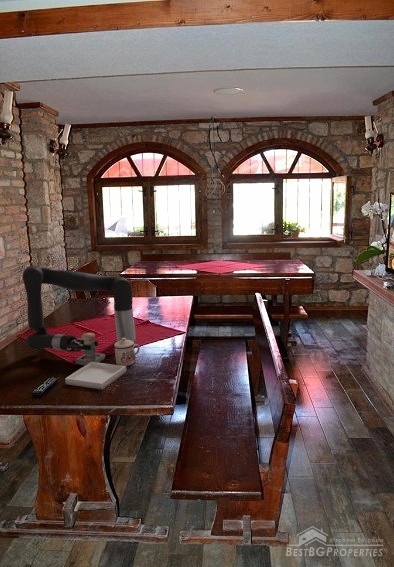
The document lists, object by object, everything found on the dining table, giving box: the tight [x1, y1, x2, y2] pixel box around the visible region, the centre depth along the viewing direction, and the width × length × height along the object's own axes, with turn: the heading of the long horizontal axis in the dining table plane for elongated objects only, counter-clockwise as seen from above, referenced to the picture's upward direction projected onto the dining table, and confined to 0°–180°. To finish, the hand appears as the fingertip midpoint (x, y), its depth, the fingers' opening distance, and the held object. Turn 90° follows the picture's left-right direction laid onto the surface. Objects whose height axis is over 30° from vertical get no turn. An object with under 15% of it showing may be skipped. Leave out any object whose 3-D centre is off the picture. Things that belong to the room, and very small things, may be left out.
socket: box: [74, 352, 106, 366], centre depth 209 cm, size 10×10×2 cm
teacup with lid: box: [113, 338, 141, 367], centre depth 205 cm, size 12×9×12 cm
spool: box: [81, 332, 97, 360], centre depth 208 cm, size 6×6×12 cm
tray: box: [64, 362, 127, 390], centre depth 190 cm, size 18×18×2 cm
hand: (94, 345), depth 207 cm, fingers closed on spool, 4 cm apart
